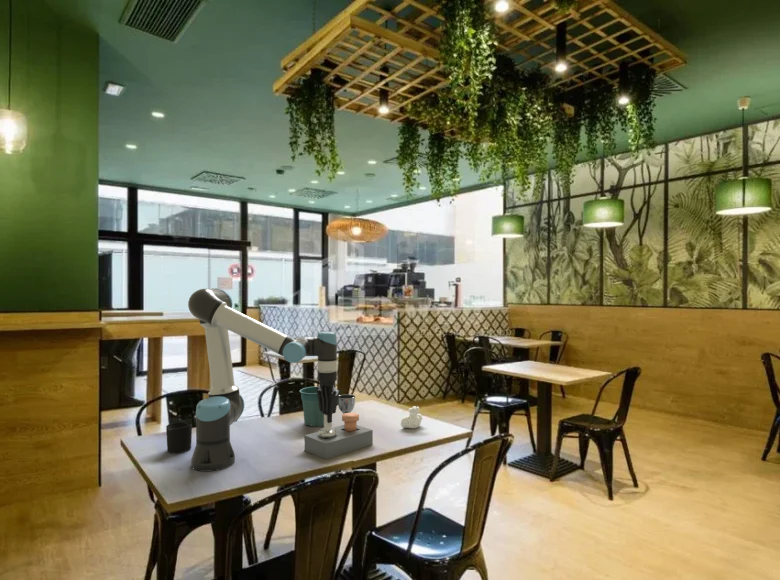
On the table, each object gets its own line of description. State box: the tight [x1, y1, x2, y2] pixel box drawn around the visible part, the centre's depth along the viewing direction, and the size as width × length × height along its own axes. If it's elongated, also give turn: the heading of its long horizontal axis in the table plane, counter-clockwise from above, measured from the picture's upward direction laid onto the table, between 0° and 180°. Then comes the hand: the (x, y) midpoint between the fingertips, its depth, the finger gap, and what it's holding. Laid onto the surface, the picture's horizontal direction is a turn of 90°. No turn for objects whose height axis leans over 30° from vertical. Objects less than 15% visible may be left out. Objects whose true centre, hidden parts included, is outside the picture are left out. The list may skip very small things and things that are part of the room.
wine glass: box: [337, 393, 356, 414], centre depth 218 cm, size 8×8×15 cm
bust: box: [400, 405, 423, 429], centre depth 220 cm, size 12×8×11 cm
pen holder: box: [165, 421, 193, 454], centre depth 190 cm, size 9×9×10 cm
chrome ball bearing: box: [317, 428, 336, 439], centre depth 189 cm, size 7×7×7 cm
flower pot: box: [299, 385, 324, 428], centre depth 227 cm, size 16×16×16 cm
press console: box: [304, 424, 374, 460], centre depth 193 cm, size 24×14×6 cm, turn 135°
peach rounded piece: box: [341, 412, 360, 433], centre depth 198 cm, size 7×7×7 cm
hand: (327, 430), depth 189 cm, fingers closed
